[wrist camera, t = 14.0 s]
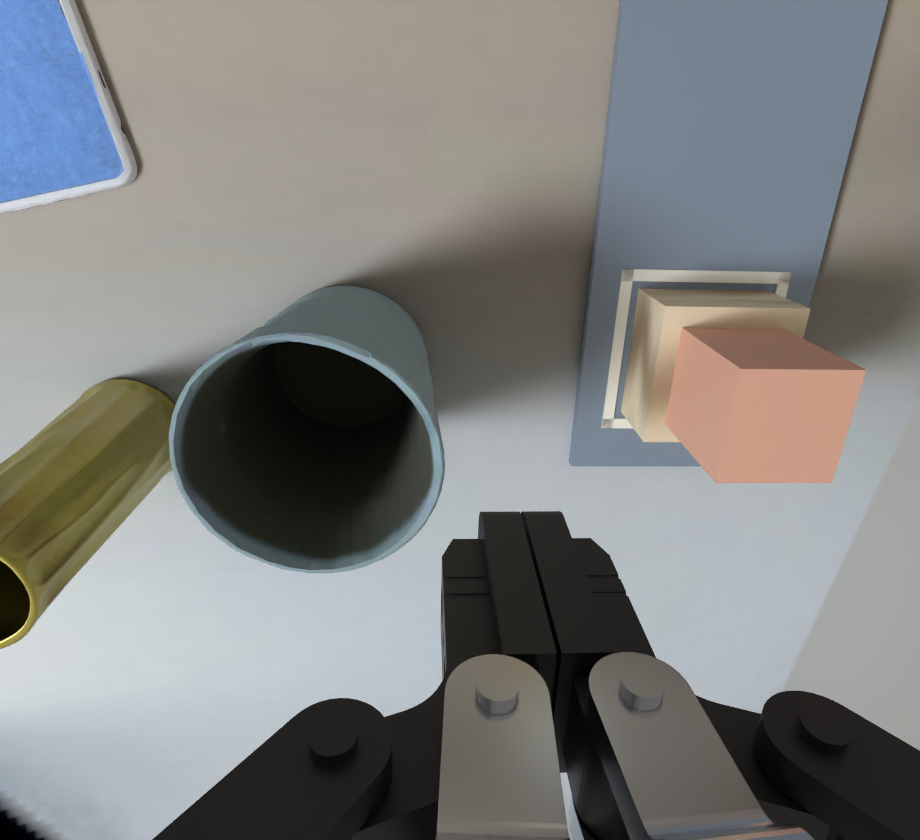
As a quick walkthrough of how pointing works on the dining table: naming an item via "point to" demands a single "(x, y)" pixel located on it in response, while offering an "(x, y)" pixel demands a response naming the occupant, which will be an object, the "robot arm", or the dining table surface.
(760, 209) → the board
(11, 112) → the tablet computer
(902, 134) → the dining table surface
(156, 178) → the dining table surface
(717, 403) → the terracotta block
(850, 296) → the dining table surface
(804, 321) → the oak base block
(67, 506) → the vase
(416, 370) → the grey-green pot
